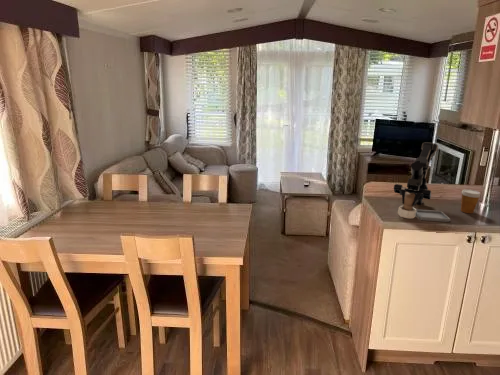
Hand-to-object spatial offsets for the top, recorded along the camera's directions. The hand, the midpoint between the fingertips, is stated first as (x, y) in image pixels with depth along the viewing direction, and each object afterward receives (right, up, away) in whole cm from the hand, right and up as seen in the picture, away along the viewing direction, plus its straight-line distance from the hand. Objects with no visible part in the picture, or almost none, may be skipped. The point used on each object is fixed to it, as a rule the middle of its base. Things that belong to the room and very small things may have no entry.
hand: (407, 204), depth 200 cm
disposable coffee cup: (+39, -5, +13) cm, 41 cm away
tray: (+14, -7, +2) cm, 15 cm away
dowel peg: (+1, -6, +3) cm, 7 cm away
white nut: (+1, -6, +3) cm, 7 cm away
